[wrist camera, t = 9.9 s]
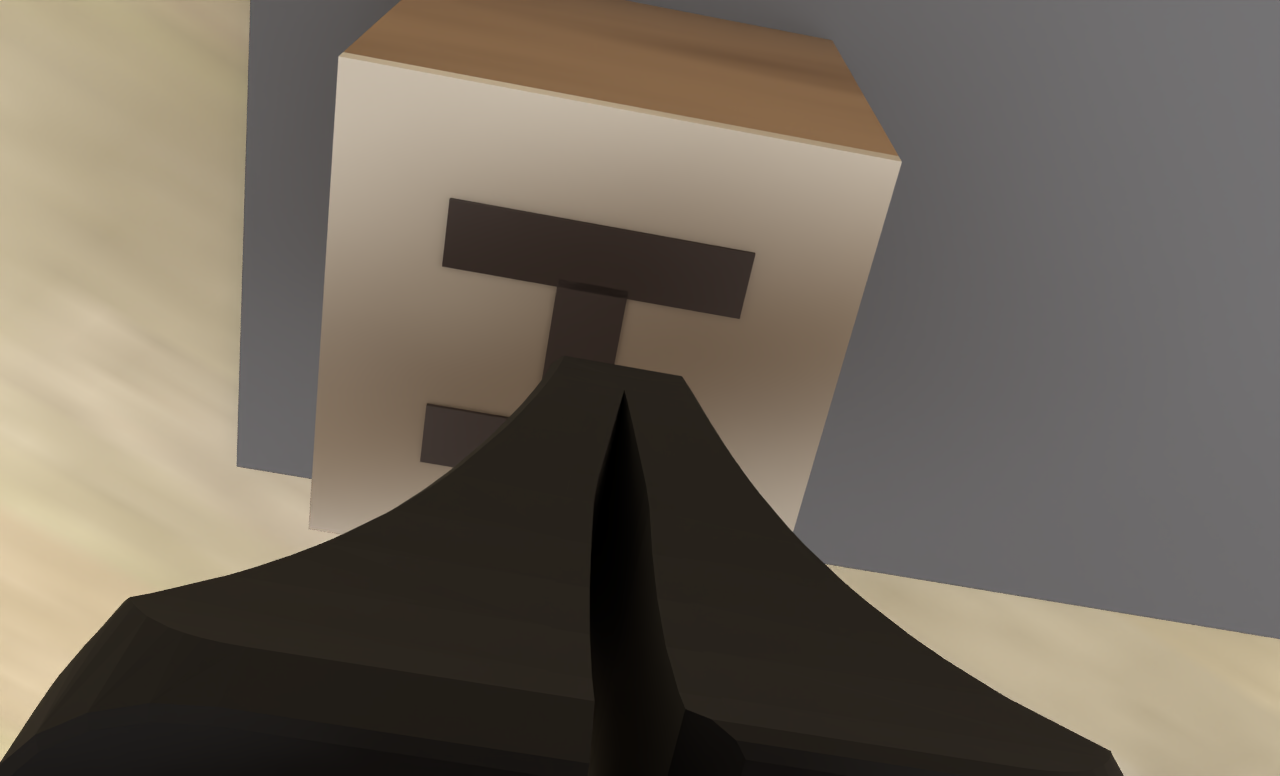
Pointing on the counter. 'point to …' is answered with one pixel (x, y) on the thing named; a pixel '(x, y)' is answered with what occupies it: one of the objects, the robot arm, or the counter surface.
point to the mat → (958, 292)
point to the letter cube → (586, 231)
